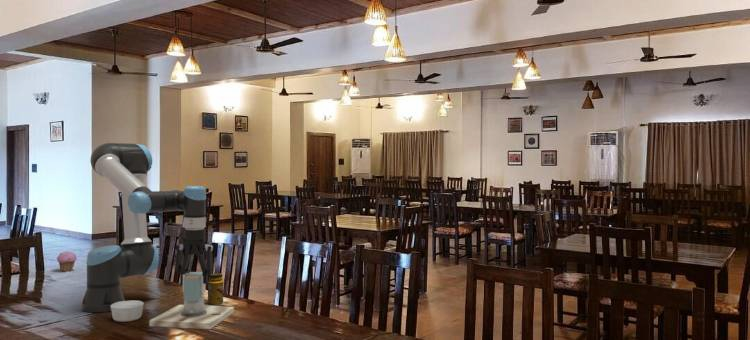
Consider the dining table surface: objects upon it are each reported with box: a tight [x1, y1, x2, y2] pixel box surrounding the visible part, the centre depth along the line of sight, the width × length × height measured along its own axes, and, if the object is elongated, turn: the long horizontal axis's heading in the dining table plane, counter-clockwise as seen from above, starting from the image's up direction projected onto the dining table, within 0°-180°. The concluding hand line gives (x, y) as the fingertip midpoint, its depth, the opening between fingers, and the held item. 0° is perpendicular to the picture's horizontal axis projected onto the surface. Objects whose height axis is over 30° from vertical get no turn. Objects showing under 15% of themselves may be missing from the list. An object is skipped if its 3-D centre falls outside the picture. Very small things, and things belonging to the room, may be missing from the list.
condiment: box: [204, 272, 227, 306], centre depth 224 cm, size 7×8×12 cm
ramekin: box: [110, 299, 145, 323], centre depth 201 cm, size 11×11×5 cm
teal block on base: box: [183, 271, 205, 314], centre depth 202 cm, size 12×7×14 cm, turn 9°
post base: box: [148, 304, 235, 330], centre depth 202 cm, size 22×22×2 cm
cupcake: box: [56, 251, 77, 273], centre depth 285 cm, size 9×9×10 cm
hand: (194, 291), depth 202 cm, fingers closed on teal block on base, 6 cm apart
